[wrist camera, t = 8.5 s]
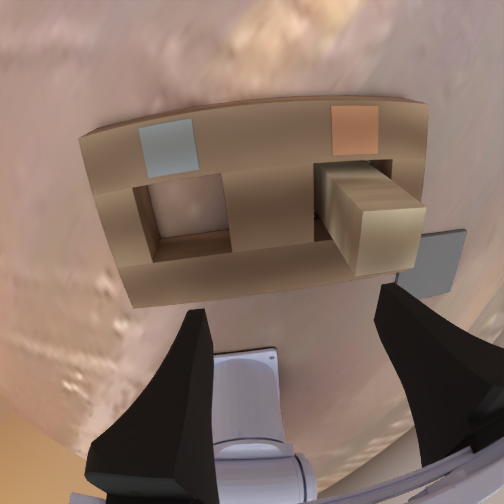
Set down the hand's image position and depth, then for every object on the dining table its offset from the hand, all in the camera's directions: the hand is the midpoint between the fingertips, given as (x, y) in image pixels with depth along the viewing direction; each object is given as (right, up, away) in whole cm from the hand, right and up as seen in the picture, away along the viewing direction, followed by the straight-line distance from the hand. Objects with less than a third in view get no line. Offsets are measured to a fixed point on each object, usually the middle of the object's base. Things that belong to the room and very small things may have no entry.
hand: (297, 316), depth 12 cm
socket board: (-1, +6, +8) cm, 10 cm away
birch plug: (+4, +7, +8) cm, 12 cm away
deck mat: (+14, +1, +13) cm, 19 cm away
